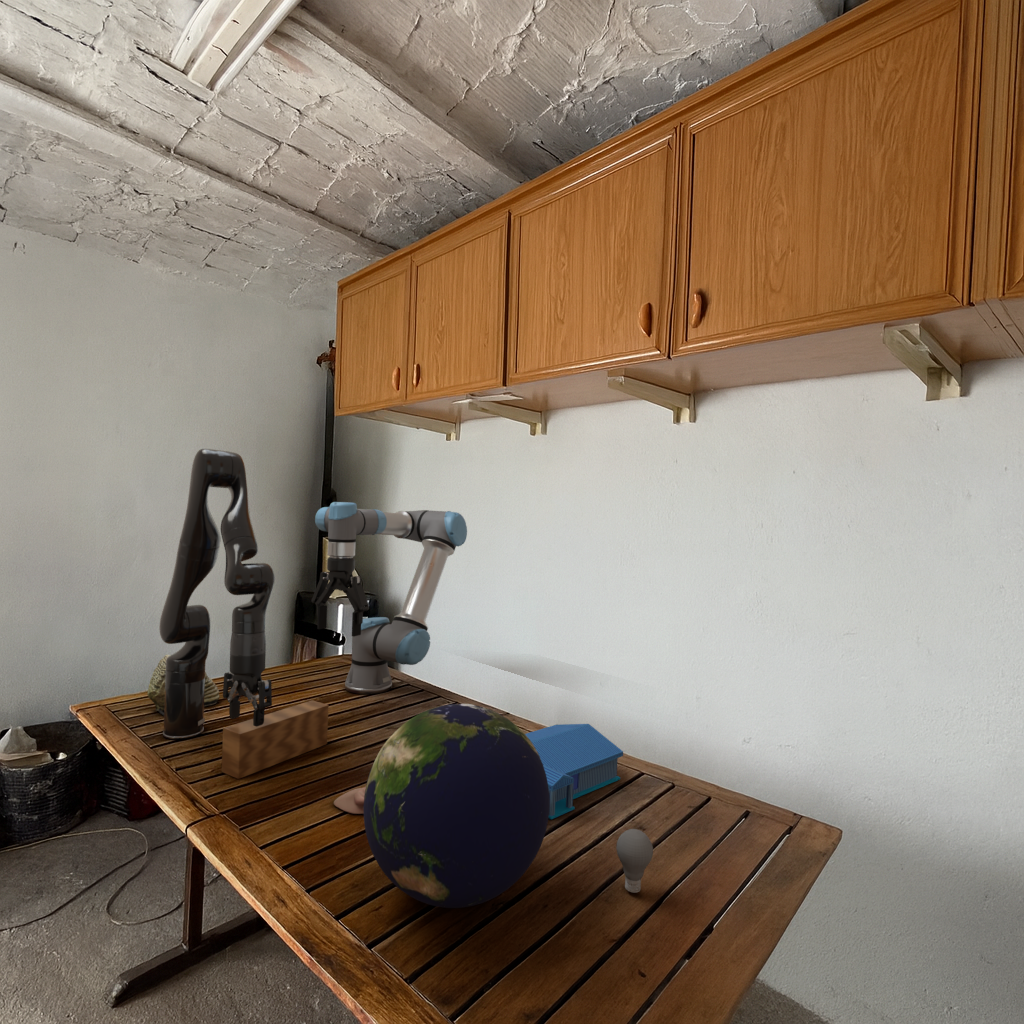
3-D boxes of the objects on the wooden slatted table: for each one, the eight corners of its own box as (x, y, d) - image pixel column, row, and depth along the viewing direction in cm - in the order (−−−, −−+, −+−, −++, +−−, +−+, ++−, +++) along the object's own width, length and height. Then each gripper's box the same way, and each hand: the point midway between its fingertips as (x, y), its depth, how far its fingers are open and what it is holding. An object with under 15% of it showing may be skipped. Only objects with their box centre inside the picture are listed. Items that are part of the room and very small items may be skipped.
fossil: (144, 707, 182) (145, 655, 182) (212, 696, 194) (213, 647, 194) (151, 716, 175) (153, 662, 175) (221, 703, 188) (223, 653, 188)
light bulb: (610, 879, 108) (613, 822, 108) (644, 879, 109) (647, 822, 109) (619, 902, 102) (622, 840, 102) (655, 901, 103) (658, 840, 103)
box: (238, 779, 140) (239, 734, 140) (221, 771, 143) (222, 727, 143) (327, 744, 162) (328, 705, 162) (310, 738, 165) (312, 700, 165)
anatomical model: (326, 790, 128) (352, 767, 139) (326, 809, 128) (351, 785, 139) (388, 799, 125) (409, 775, 136) (387, 819, 125) (408, 793, 137)
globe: (319, 919, 95) (326, 721, 95) (420, 827, 123) (427, 673, 122) (502, 984, 84) (511, 760, 83) (568, 867, 112) (576, 698, 111)
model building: (505, 839, 120) (507, 787, 120) (430, 791, 138) (432, 746, 138) (631, 784, 146) (633, 741, 146) (555, 749, 164) (556, 711, 164)
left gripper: (282, 652, 144) (280, 723, 144) (242, 643, 151) (241, 711, 151) (253, 658, 137) (251, 733, 138) (213, 649, 145) (212, 719, 145)
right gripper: (383, 559, 175) (380, 636, 175) (320, 552, 188) (318, 623, 188) (364, 561, 168) (361, 640, 169) (300, 554, 181) (297, 627, 182)
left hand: (246, 721), depth 145 cm, fingers open, 8 cm apart
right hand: (338, 632), depth 179 cm, fingers open, 13 cm apart
